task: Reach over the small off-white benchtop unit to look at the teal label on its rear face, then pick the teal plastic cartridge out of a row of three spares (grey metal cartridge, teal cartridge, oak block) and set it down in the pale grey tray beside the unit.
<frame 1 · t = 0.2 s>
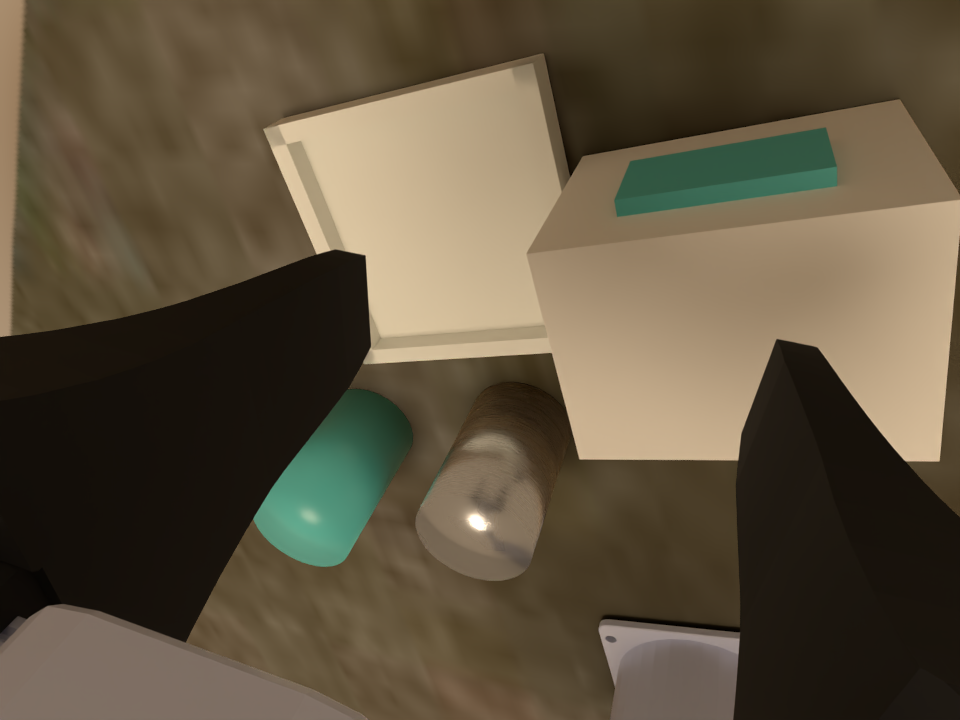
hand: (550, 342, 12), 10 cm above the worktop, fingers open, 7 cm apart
teal cartridge: (370, 425, 30), on the worktop
unit: (736, 232, 20), on the worktop
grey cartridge: (520, 423, 27), on the worktop
tray: (445, 226, 23), on the worktop
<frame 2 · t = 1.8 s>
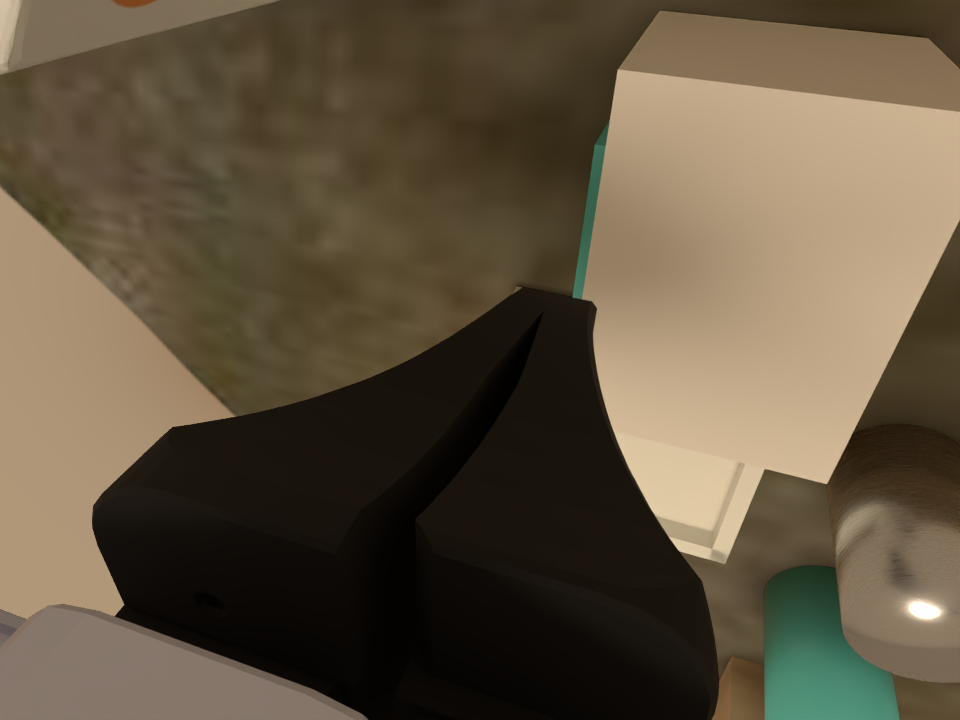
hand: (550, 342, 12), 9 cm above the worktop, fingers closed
oak block: (766, 694, 30), on the worktop
teal cartridge: (820, 601, 26), on the worktop
unit: (741, 185, 18), on the worktop
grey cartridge: (894, 473, 22), on the worktop
tray: (628, 421, 24), on the worktop
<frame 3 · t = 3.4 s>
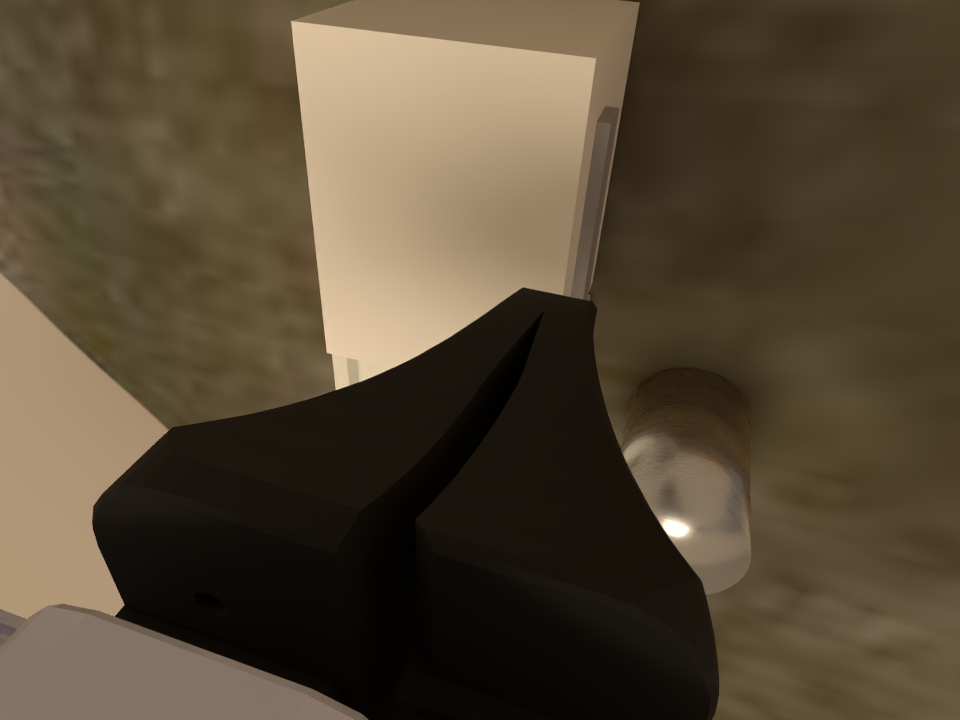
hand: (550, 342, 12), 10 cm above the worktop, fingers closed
unit: (512, 143, 20), on the worktop
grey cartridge: (687, 415, 24), on the worktop
tray: (455, 373, 26), on the worktop
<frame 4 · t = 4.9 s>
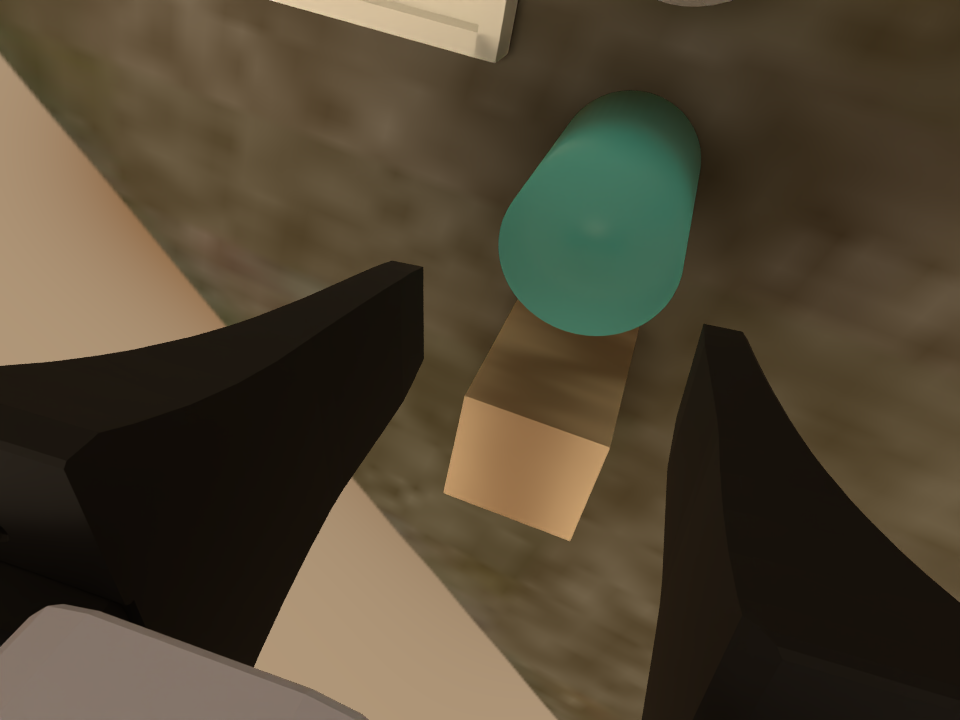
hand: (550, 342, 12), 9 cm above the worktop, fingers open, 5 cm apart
oak block: (565, 354, 24), on the worktop
teal cartridge: (627, 164, 19), on the worktop
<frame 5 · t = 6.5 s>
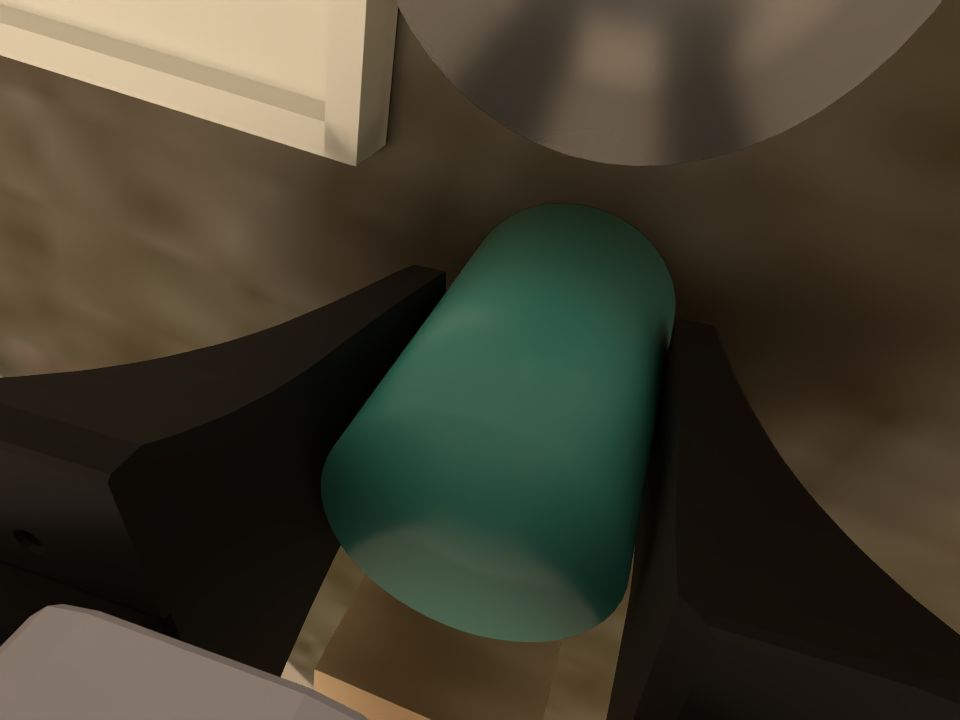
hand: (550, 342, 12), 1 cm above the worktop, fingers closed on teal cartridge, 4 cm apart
oak block: (498, 525, 17), on the worktop
teal cartridge: (567, 302, 13), on the worktop, touching gripper
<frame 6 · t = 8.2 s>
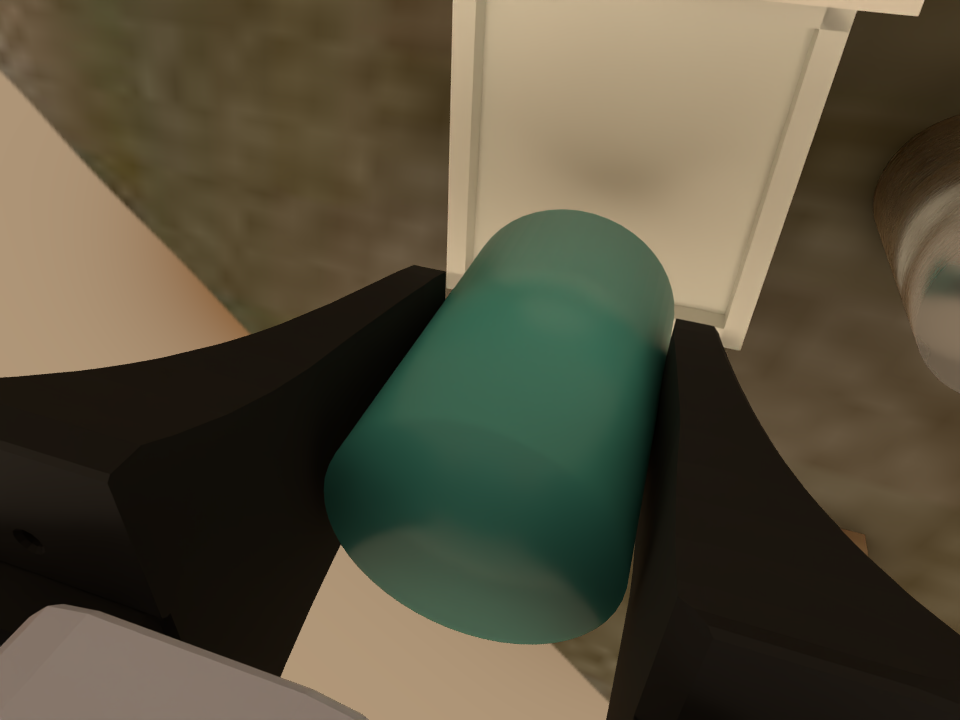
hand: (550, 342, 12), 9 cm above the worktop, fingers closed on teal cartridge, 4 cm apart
teal cartridge: (567, 307, 13), point 7 cm above the worktop, touching gripper
tray: (617, 159, 19), on the worktop
when the fingers open (3 cm above the worktop, at t = 9.8 s): teal cartridge drops 1 cm, resting on tray.
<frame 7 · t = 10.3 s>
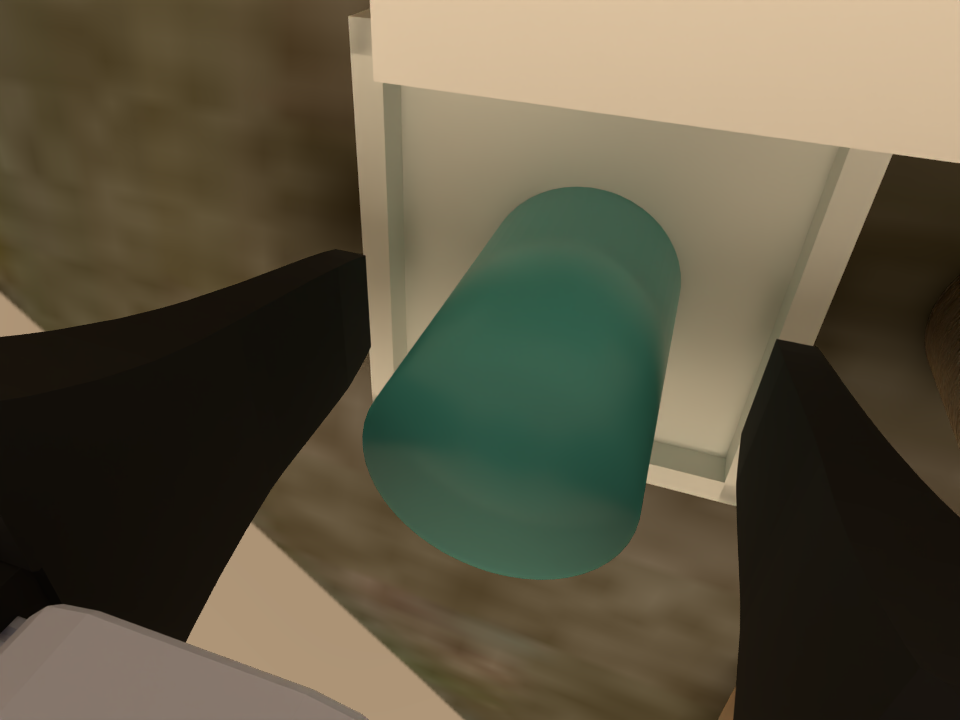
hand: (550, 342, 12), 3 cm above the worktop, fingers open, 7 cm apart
teal cartridge: (580, 280, 14), resting on tray
tray: (583, 265, 14), on the worktop
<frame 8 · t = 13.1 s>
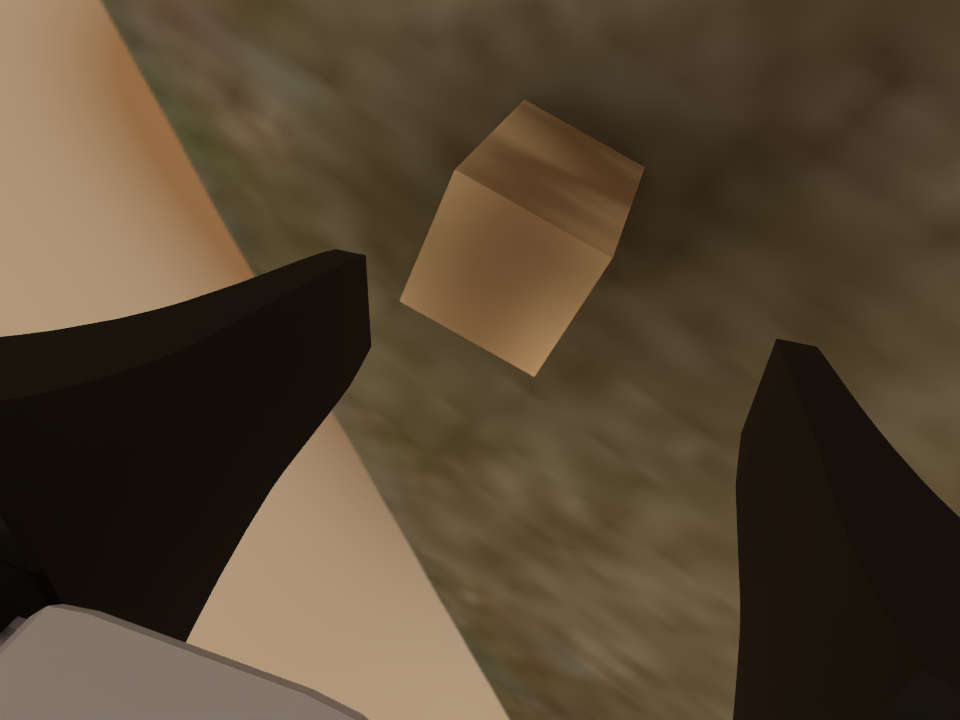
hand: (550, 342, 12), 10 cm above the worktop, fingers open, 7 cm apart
oak block: (553, 190, 21), on the worktop
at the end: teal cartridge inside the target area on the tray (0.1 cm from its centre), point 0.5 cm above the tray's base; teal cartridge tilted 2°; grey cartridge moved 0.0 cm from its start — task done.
